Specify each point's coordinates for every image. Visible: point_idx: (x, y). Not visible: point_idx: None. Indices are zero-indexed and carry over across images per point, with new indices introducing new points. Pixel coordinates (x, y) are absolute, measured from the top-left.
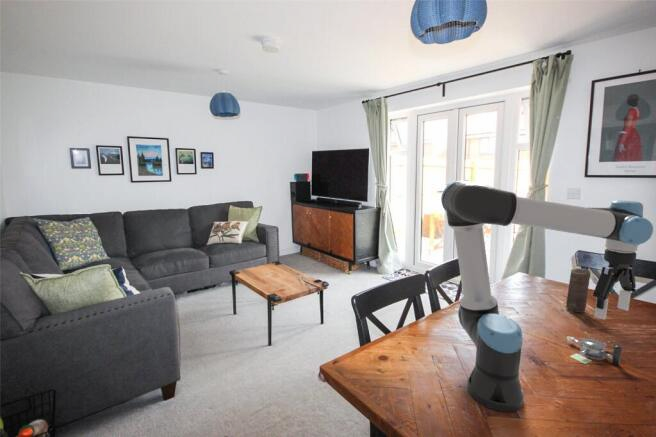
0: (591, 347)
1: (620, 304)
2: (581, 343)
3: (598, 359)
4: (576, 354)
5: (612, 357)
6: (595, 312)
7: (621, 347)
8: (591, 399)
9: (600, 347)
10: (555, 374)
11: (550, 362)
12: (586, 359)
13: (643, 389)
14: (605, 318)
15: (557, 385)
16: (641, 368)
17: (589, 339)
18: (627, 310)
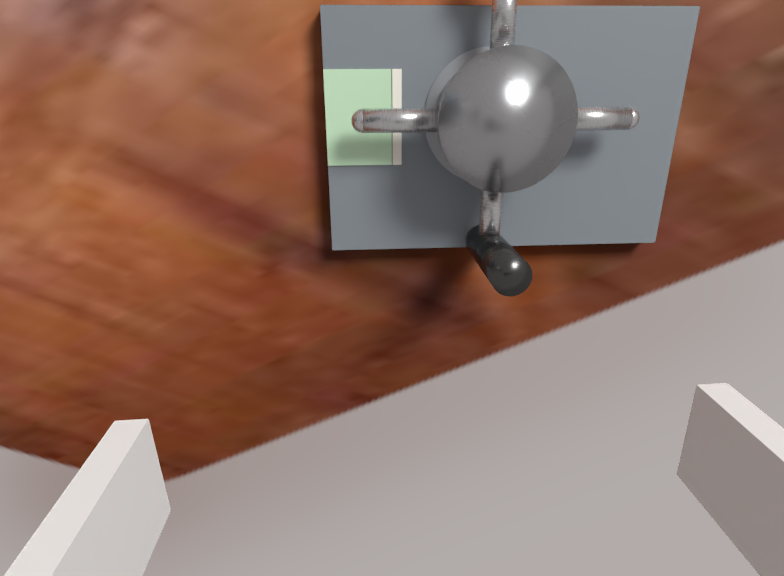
0: (440, 144)
1: (731, 450)
2: (494, 43)
3: (451, 171)
4: (385, 78)
5: (482, 234)
6: (85, 469)
7: (515, 292)
8: (101, 326)
9: (486, 176)
10: (98, 134)
11: (178, 36)
12: (384, 142)
13: (399, 370)
14: (160, 520)
15: (24, 202)
16: (586, 287)
17: (543, 73)
18: (684, 479)
